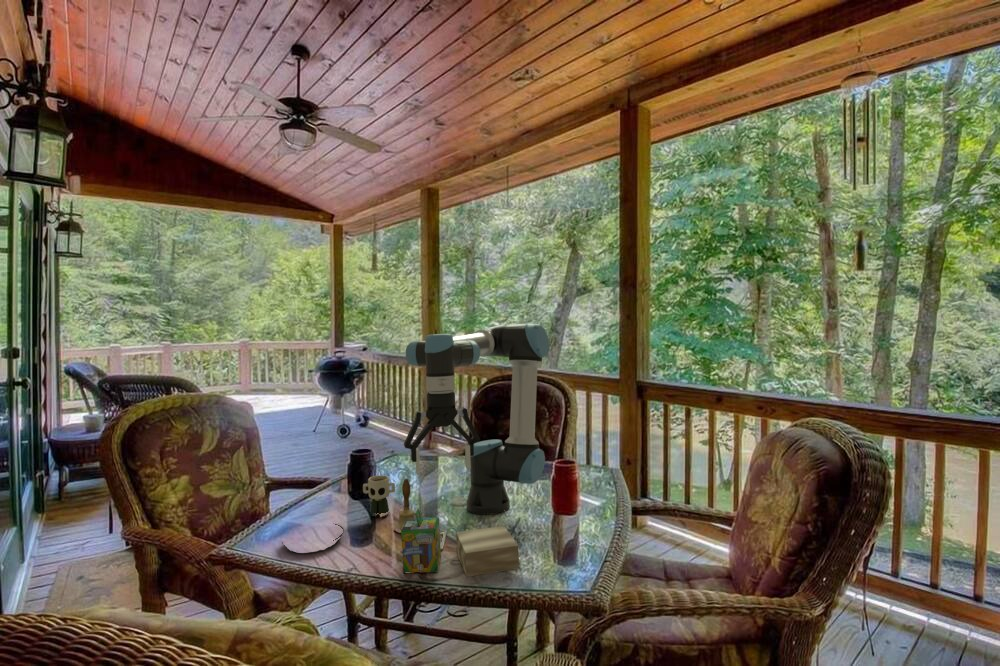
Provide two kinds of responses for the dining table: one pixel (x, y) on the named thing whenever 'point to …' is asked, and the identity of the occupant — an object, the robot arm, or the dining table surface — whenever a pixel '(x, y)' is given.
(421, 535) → the chalk box
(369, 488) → the character mug
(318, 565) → the dining table surface
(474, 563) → the birch block
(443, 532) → the dessert
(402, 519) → the hand bell
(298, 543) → the dining table surface
